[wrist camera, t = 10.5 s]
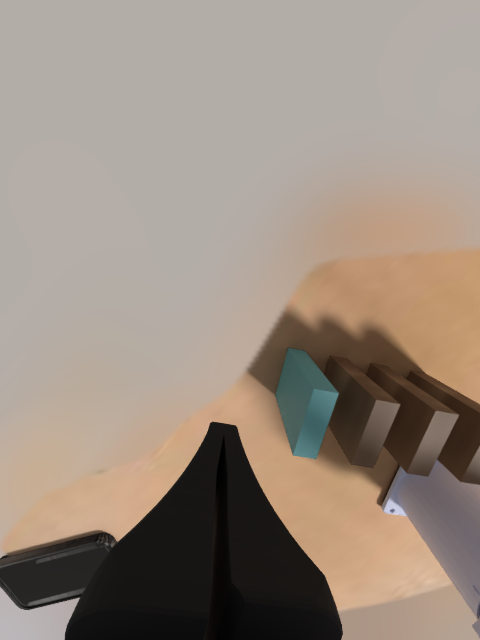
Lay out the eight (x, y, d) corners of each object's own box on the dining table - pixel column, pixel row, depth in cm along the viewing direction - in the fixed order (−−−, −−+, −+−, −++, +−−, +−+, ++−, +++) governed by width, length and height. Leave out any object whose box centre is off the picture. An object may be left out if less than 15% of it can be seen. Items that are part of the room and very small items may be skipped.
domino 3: (426, 373, 21) (515, 425, 14) (406, 418, 22) (481, 485, 15) (410, 370, 21) (493, 420, 14) (391, 415, 22) (460, 481, 15)
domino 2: (386, 366, 21) (459, 414, 14) (369, 411, 22) (427, 476, 15) (370, 363, 21) (435, 410, 14) (353, 409, 22) (406, 473, 15)
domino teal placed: (305, 350, 20) (338, 393, 14) (291, 398, 22) (316, 459, 15) (288, 347, 20) (314, 388, 14) (275, 395, 21) (292, 455, 15)
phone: (134, 583, 26) (21, 611, 27) (138, 571, 27) (29, 598, 28) (105, 538, 25) (-15, 569, 25) (111, 526, 26) (-5, 556, 26)
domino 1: (346, 358, 21) (400, 404, 14) (330, 405, 22) (373, 468, 15) (330, 355, 21) (376, 399, 14) (315, 402, 22) (350, 464, 15)
